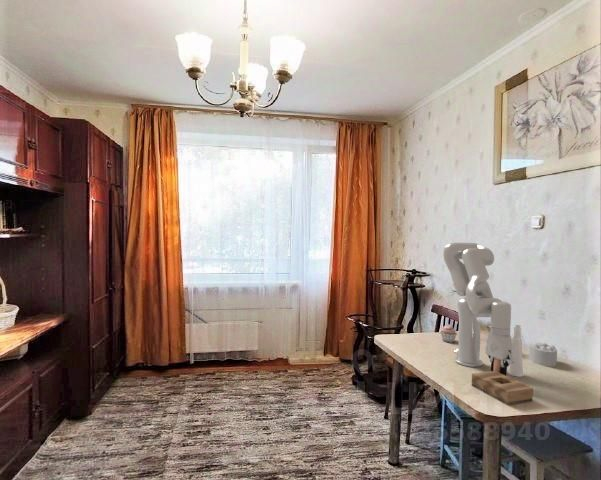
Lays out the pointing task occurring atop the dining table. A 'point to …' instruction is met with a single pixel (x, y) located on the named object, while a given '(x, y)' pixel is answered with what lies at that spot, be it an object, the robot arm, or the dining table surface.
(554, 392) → the dining table surface
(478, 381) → the socket board
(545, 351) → the lumpy-topped squat cylinder
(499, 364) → the peg
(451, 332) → the cupcake
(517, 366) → the cosmetic bottle
